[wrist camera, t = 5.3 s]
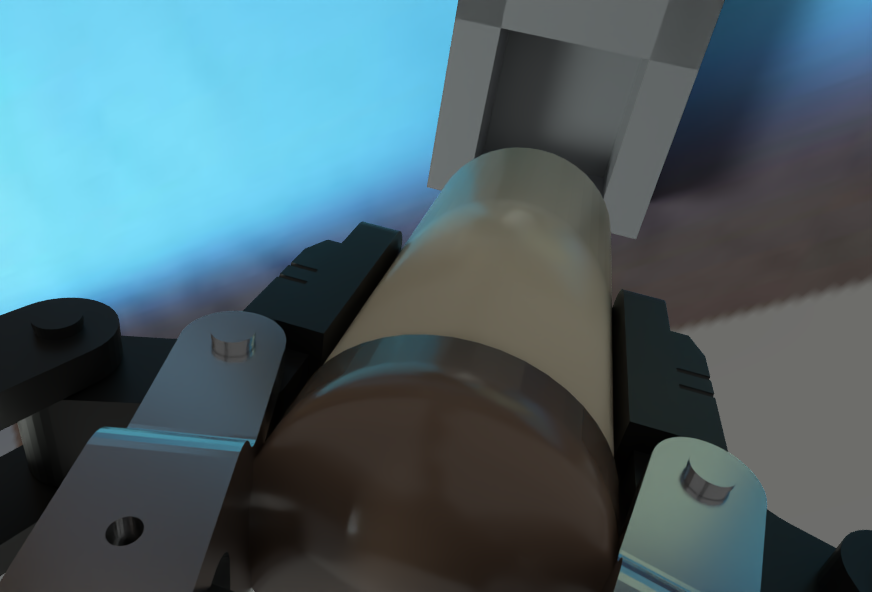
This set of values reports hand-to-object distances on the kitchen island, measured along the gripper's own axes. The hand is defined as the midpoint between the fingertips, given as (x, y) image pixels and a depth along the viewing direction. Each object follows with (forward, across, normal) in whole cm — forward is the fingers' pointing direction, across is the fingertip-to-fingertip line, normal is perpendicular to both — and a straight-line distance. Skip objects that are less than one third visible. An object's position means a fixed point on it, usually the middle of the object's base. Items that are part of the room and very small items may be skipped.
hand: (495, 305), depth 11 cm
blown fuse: (+3, 0, 0) cm, 3 cm away
